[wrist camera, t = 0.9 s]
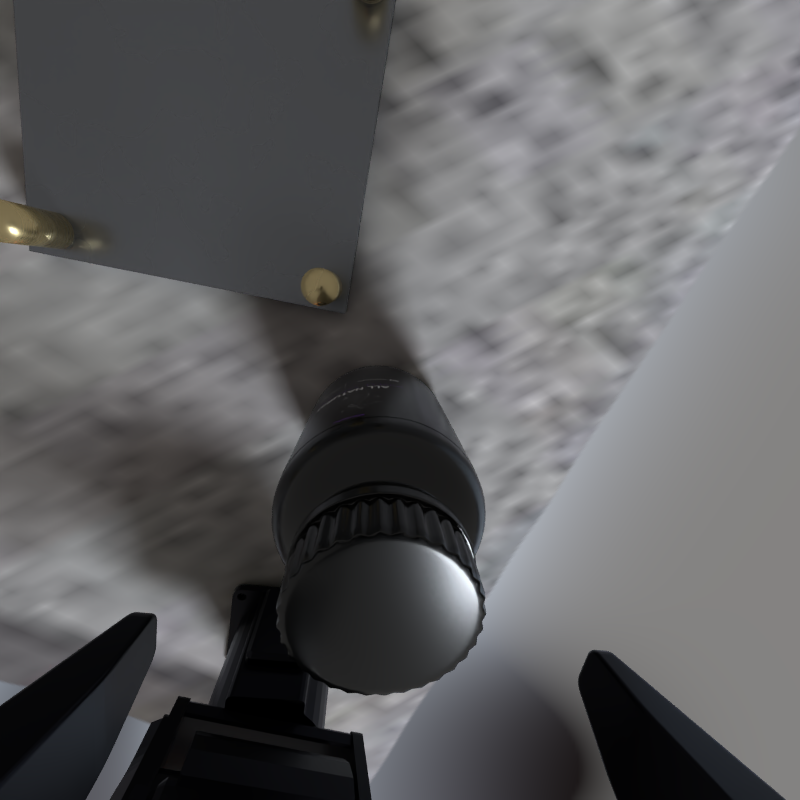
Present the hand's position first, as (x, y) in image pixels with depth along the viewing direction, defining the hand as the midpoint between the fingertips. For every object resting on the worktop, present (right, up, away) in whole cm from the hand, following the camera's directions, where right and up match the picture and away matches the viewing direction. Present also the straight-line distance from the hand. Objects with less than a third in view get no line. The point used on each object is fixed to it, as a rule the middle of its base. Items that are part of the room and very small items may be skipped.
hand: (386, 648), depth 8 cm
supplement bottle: (-1, +4, +12) cm, 13 cm away
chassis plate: (-7, +16, +8) cm, 20 cm away
